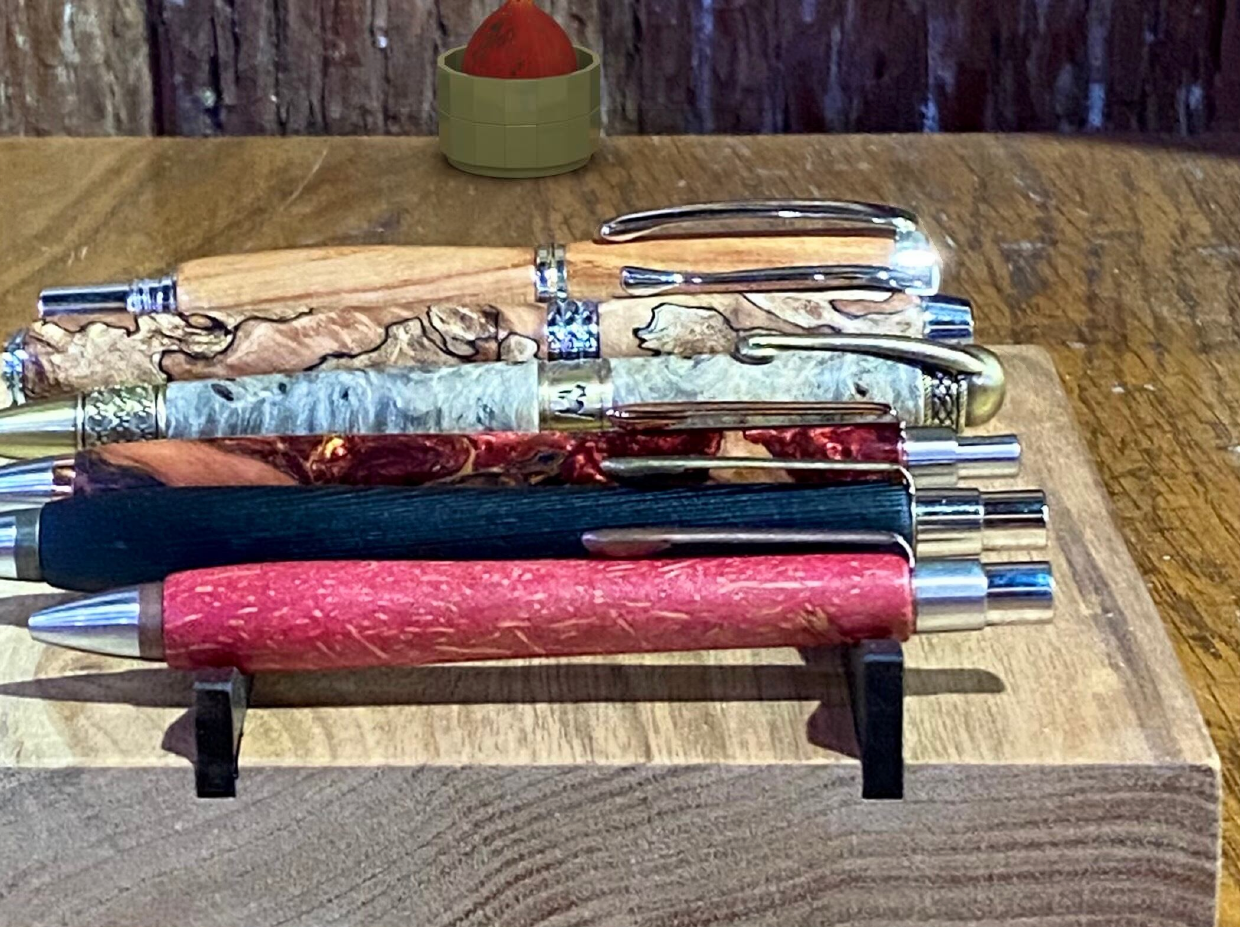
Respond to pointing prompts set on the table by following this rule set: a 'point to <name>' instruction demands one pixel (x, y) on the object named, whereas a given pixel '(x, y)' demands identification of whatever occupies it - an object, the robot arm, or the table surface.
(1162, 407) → the table surface
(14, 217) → the table surface
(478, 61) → the onion
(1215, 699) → the table surface
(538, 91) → the bowl
